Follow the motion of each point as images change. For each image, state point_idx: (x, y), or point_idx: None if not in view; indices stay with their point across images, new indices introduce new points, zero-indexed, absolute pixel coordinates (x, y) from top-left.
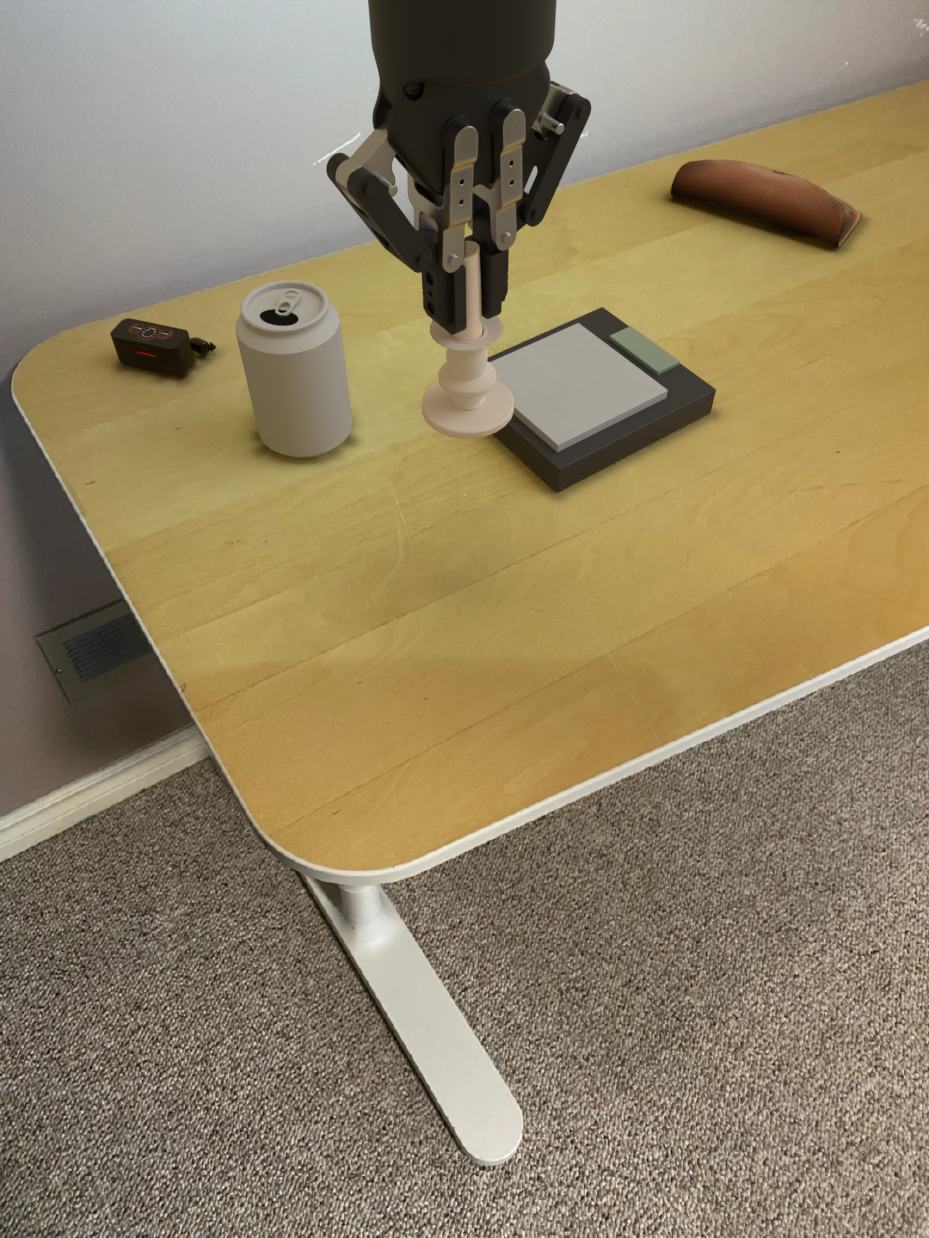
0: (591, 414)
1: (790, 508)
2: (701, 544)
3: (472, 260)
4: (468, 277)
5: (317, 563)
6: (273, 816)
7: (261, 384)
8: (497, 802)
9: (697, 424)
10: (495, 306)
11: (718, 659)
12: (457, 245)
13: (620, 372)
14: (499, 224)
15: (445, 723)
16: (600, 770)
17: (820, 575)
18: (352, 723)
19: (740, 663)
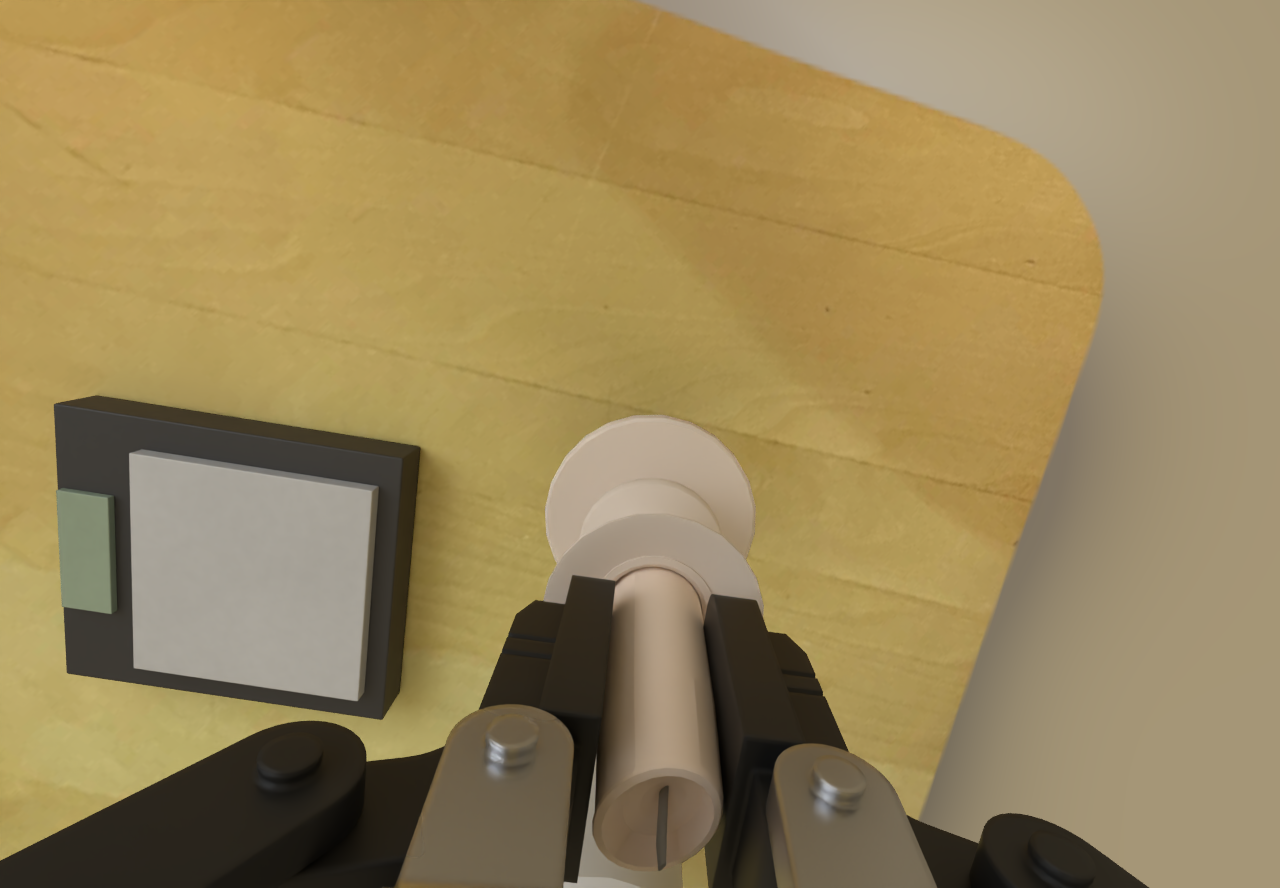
0: (277, 502)
1: (152, 160)
2: (326, 216)
3: (677, 753)
4: (691, 710)
5: (764, 582)
6: (1083, 314)
7: (679, 871)
8: (885, 116)
9: (134, 393)
10: (596, 591)
11: (479, 46)
12: (832, 840)
13: (164, 537)
14: (541, 824)
15: (839, 260)
16: (752, 45)
17: (225, 30)
18: (920, 349)
19: (460, 15)
